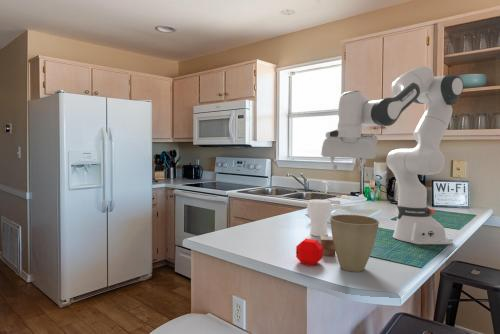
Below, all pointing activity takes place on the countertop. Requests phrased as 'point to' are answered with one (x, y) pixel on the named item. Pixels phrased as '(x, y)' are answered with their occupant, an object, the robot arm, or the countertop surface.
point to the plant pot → (353, 240)
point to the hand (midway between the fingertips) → (347, 169)
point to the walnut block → (327, 246)
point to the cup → (319, 216)
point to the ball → (309, 251)
